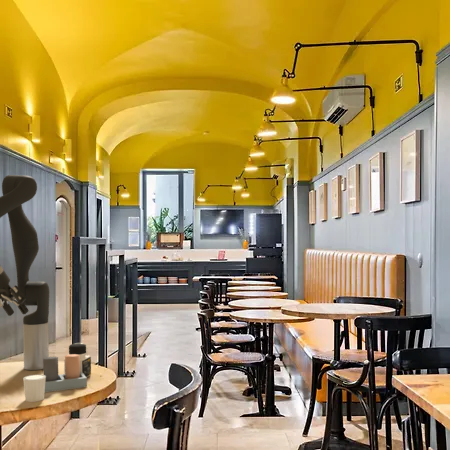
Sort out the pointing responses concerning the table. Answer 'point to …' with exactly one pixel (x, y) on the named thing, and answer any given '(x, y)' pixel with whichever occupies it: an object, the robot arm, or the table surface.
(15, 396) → the table surface
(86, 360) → the medicine bottle
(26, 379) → the white cup
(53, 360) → the dark gray block
